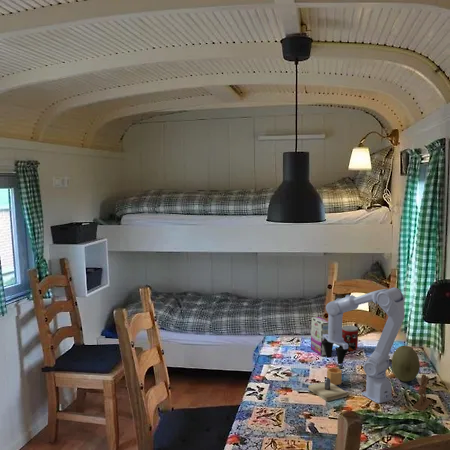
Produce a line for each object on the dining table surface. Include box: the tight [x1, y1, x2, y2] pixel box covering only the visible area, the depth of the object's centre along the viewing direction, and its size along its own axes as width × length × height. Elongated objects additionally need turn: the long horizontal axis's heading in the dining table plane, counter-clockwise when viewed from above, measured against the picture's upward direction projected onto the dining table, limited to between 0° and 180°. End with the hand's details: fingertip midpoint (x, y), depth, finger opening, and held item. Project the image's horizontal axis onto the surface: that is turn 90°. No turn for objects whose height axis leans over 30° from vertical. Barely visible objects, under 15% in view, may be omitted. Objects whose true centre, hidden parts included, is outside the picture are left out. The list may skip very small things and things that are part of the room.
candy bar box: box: [310, 316, 328, 357], centre depth 237 cm, size 11×5×16 cm, turn 17°
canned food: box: [342, 325, 359, 353], centre depth 241 cm, size 8×8×11 cm
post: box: [324, 377, 330, 390], centre depth 193 cm, size 2×2×5 cm
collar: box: [326, 367, 343, 386], centre depth 203 cm, size 6×6×5 cm
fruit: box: [391, 345, 421, 383], centre depth 204 cm, size 11×11×15 cm
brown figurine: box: [412, 374, 433, 412], centre depth 181 cm, size 9×4×12 cm, turn 138°
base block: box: [307, 381, 348, 402], centre depth 193 cm, size 12×10×2 cm
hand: (334, 360), depth 202 cm, fingers open, 7 cm apart
